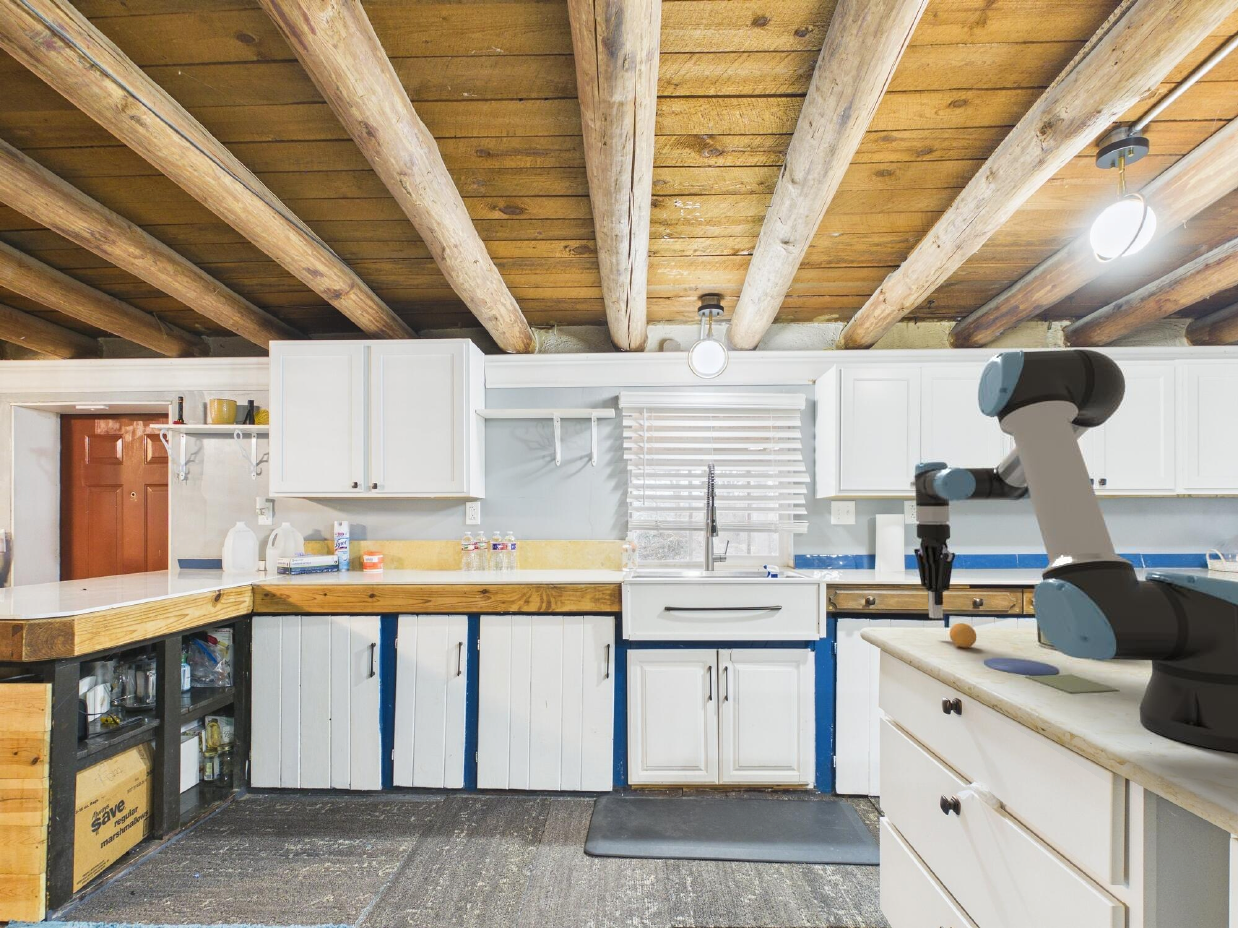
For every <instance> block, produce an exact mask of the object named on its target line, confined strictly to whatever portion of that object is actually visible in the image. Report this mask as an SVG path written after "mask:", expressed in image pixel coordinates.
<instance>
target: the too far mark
mask: <svg viewBox="0 0 1238 928" xmlns="http://www.w3.org/2000/svg"><path fill="white" fill-rule="evenodd" d="M1024 676H1025V678H1026V679H1028V680H1031V681H1034V682H1037V683H1040V684H1043V685H1045V686H1048V687H1051V688H1054V689H1056V690H1060V691H1062V692H1065V693H1067V694H1082V693H1083V694H1087V693H1103V692H1120V691H1121V690H1120V688H1115V687H1112V686H1110V685H1107V684H1102V683H1099V682H1096V681H1095V680H1090V679H1087V678H1085V677H1081V676H1079V675H1075V674H1072V673H1069V674H1055V675H1044V676H1034V675H1024Z"/></svg>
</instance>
